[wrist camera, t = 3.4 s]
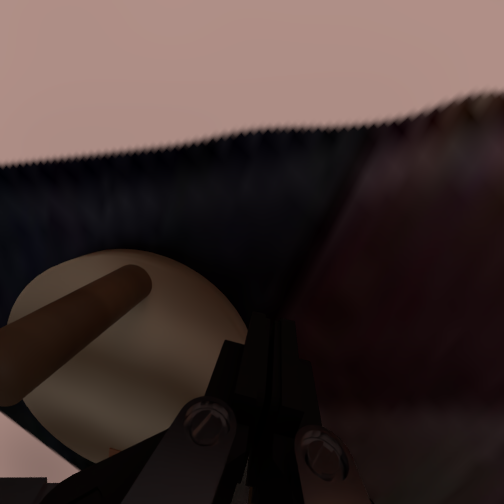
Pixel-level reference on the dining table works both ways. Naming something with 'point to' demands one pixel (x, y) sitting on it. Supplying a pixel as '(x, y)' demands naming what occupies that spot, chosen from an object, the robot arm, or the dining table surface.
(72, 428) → the disc
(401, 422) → the dining table surface
